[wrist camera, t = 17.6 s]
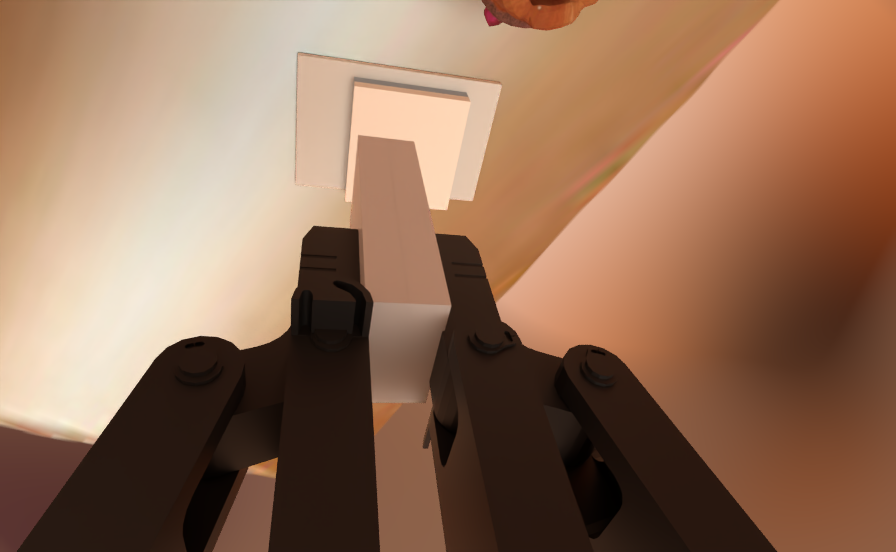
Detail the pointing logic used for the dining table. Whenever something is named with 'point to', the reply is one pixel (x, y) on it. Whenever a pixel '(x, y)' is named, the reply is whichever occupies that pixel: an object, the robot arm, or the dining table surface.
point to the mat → (329, 118)
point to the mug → (534, 12)
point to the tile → (411, 129)
